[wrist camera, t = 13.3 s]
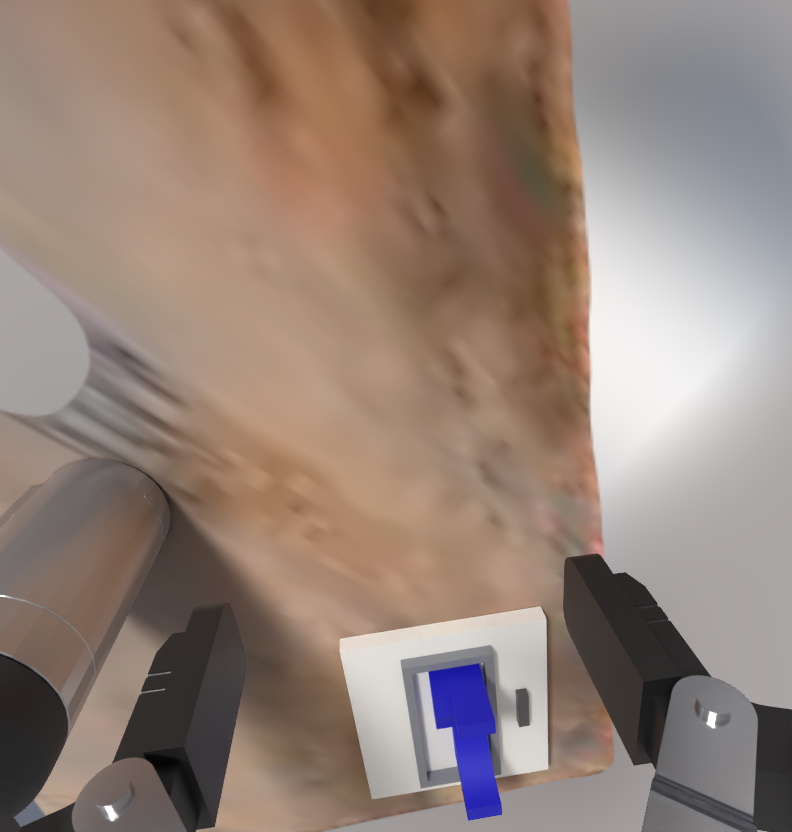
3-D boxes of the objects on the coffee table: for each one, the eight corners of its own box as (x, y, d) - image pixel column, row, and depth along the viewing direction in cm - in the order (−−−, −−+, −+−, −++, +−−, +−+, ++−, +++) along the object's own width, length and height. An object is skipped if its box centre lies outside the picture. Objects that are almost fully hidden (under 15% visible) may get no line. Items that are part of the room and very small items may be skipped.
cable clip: (427, 667, 49) (438, 730, 43) (477, 659, 49) (495, 720, 43) (439, 757, 53) (451, 823, 48) (485, 749, 54) (502, 814, 48)
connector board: (371, 784, 56) (372, 810, 54) (339, 638, 48) (339, 661, 46) (543, 754, 57) (551, 778, 55) (540, 606, 49) (550, 627, 47)
